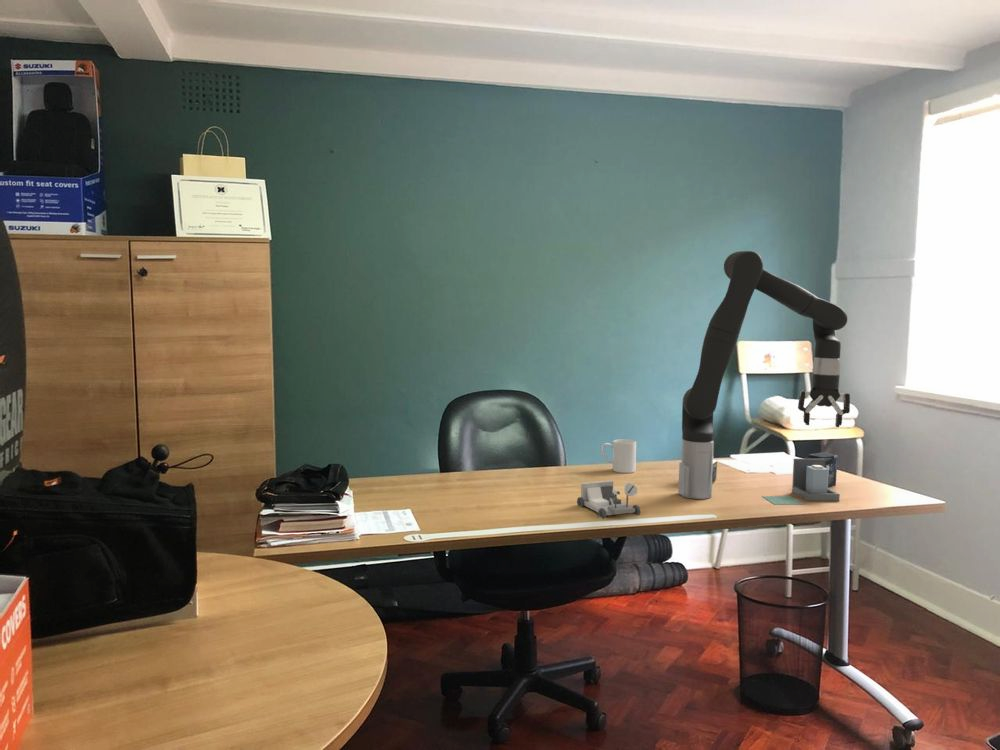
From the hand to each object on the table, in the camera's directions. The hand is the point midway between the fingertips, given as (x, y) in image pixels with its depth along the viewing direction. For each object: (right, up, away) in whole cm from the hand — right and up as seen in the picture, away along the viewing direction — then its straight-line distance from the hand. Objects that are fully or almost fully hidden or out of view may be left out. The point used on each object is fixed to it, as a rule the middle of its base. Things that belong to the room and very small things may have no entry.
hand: (822, 425), depth 225 cm
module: (-2, -22, 0) cm, 22 cm away
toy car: (-67, -23, -17) cm, 73 cm away
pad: (-14, -22, -5) cm, 27 cm away
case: (-2, -22, 0) cm, 22 cm away
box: (+6, -21, +15) cm, 26 cm away
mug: (-57, -18, +34) cm, 69 cm away
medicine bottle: (-31, -20, +19) cm, 42 cm away
